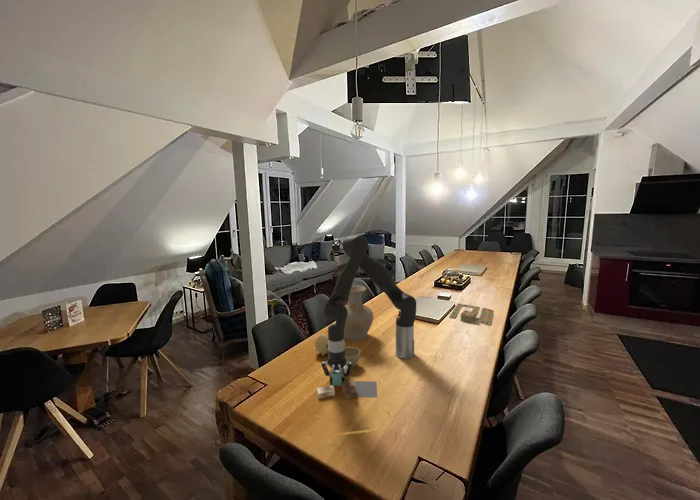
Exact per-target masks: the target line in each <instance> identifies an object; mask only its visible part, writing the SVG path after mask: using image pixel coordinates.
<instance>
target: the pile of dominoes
mask: <svg viewBox="0 0 700 500" xmlns="http://www.w3.org/2000/svg"><path fill="white" fill-rule="evenodd" d="M462 307H463V308H464V307H465V308H470V309H472V310H471V311H470V310H466V309H465V310H463V311H462V312H461V313H460V322H464V323H469V324H474V322H475V320H476V318H477V316H478V314H479V310H480V306H476V305H470V304H464V303H456V305H455V307H454V308H453V310H452V311H451V313H450V314H449V316H448V318H450V319H454V320H455V319H457V316H458V314H459V312H460V310H461V309H462ZM493 318H494V310H493V309H491V308H490V309H489V308H486V307H483V308H481V310H480V314H479V316H478V321H477V323H479V324H482V325H485V326H488V327H489V326H492V324H493Z"/></svg>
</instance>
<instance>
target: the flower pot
mask: <svg viewBox="0 0 700 500" xmlns="http://www.w3.org/2000/svg"><path fill="white" fill-rule="evenodd" d="M360 356H361V349H359V348H357V347H353V346H351V347H350V346H348V347H345V359H346V361H347V362H350V361H351V362H352V367H351V369H352V368H355V367H356V366H357V365H358V362H359V360H360ZM345 365H346V364H345Z"/></svg>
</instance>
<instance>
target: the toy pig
mask: <svg viewBox="0 0 700 500" xmlns="http://www.w3.org/2000/svg"><path fill="white" fill-rule="evenodd" d="M314 347H315V351H316V352H318V353H320V354H321V356H322V357H324V356H325V355H328V334H325V333H322V334H319V335H318V336H317V337H316V339H315V341H314Z"/></svg>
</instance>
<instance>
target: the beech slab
mask: <svg viewBox="0 0 700 500" xmlns="http://www.w3.org/2000/svg"><path fill="white" fill-rule="evenodd" d="M335 389H336V388H335V387H334V386H333V385H332V384H331V385H327V386H322V387H320V386H319V387H317V388H316V393H317V398H318V399H324V398H328V397H335V396H336V390H335Z"/></svg>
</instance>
